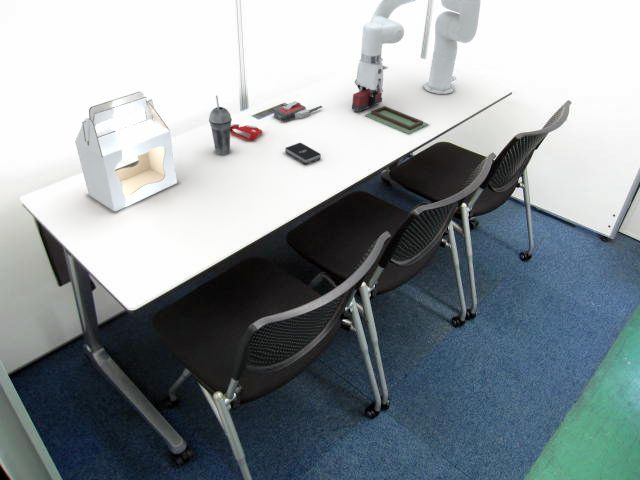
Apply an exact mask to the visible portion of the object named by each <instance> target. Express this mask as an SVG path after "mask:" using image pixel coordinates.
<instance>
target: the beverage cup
mask: <svg viewBox="0 0 640 480" xmlns="http://www.w3.org/2000/svg"><path fill="white" fill-rule="evenodd" d="M215 100H216V106H215V108H213V109H212V110H211V111H210V113H209V117H208V122H209V125H210V126H209V127H210V129H211V134H212V139H213V144H214V150H215V153H216V155H219V156H225V155H228V154H229V153H230V150H231V133H230V126H231V125H232V121H233V120H232V117H231V113H230V112H229V110H228V109H227V108H225V107H223V106H220V104H219V97H218V95H215Z"/></svg>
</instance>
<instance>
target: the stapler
mask: <svg viewBox="0 0 640 480" xmlns="http://www.w3.org/2000/svg"><path fill="white" fill-rule="evenodd" d="M377 91H378V88H377ZM373 93H374V91H373ZM382 94H383V92H382V93H379V94H378V95H377V96H375V105H374V106H376V105H378V104H380V103H382V102H383V97H382V96H383V95H382ZM369 97H370V89H368V88H366V89H365V90H363V91H360V92H359V91H357V92H355V93H353V94H352V105H351V109H352V110H354V111H356V112H362V111H364V110H366V109H369V108H370V107H369V106H368V103H369Z"/></svg>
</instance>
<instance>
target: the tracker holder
mask: <svg viewBox="0 0 640 480" xmlns="http://www.w3.org/2000/svg"><path fill="white" fill-rule="evenodd" d="M235 130H237V131H240V132H243V133H246V134H248V135H249V136H248V137H247V136H245V135H242V134H240V133H238V132H236V131H235ZM230 134H232V136H233V135H234V136H235V137H237V138H240V139H243V140H245V141H255V140H256V139H257V138H258V137H259V136H260V135H262V134H263V130H262V129H260V128H259V127H257V126H254V125H250V124H249V125H247V124H246V125H244V126H242V125H241V126H240V124H239V123H233V124H231V126H230Z"/></svg>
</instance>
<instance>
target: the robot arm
mask: <svg viewBox="0 0 640 480" xmlns="http://www.w3.org/2000/svg"><path fill="white" fill-rule="evenodd" d="M415 1H416V0H381V1H380V2H379V4H377V7H376V8H375V11H374V12H373V14H372V17H371V19H370V21H369V22H367V23H365V24H364V25H363V27H362V36H361V37H362V38H361V51H360V52H361V53H360V59H359V62H358V65H357V71H356V79H355V80H354V84H355V85H356V86H357V88H358V92H360V91H363V90H365V89H370V97H369V103H368V106H369V108H371V107H374V106H376V105H375V96H377V95H378V94H379V93H382V94H383V92H384V90H383V85H384V66H383V61H384V59H383V58H382V53H383V52H382V49H383V44H384V45H385V44H391V45H392V44H396V43H398V42H400V41H401V40H402V39H403V37H404V35H405V28H404V26H403V25H402V24H400V23H399V22H398V21H395V20H393V19H390V16H391V14H392V13H393V12H394V11H395V10H396V9H397V8H399V7H401V6H404V5H406V4H409V3H412V2H415ZM440 2H441V5H442V7H443V8H445V9H446V10H447V11H442V12H441V13H440V14H438V15H437V17H436V20H435V23H434V33H435V34H434V46H433V52H432V58H431V64H430V71H429V75H428V76H429V77H428V81H427V82H425V83H424V85H423V88H424V90H426V91H427V92H429V93H431V94H432V93H433V94H437V95H449V94H451V93H453V92H454V90H455V89H454V86H453V85H452V83H453V82H455V81H457V77H456V76H455V75H453V74H454V70H455V63H456V58H457V53H458V42H459V43H461V44H468V43H470V42H472V41H473V39H474V38H475V37H476V34H477V31H478V25H479V18H480V9H481V0H440ZM377 88H378V91H377ZM373 91H374V93H373Z"/></svg>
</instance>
